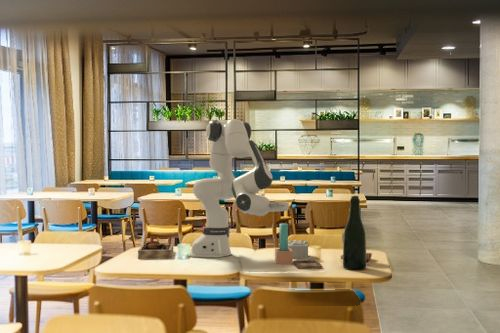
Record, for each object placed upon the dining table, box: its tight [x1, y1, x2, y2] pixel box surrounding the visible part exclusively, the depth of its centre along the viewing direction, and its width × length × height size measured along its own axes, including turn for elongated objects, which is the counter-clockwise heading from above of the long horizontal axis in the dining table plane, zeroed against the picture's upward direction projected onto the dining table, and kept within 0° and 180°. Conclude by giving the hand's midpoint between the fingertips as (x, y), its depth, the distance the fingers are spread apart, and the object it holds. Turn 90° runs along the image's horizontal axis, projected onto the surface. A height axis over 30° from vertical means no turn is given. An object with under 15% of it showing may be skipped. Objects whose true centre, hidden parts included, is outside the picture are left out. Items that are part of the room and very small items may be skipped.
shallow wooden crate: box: [137, 243, 174, 260], centre depth 314 cm, size 16×18×4 cm
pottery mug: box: [144, 240, 166, 250], centre depth 314 cm, size 12×10×8 cm
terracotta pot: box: [274, 248, 294, 265], centre depth 292 cm, size 8×8×6 cm
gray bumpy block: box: [288, 239, 309, 260], centre depth 307 cm, size 10×13×9 cm
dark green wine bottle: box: [342, 195, 367, 271], centre depth 281 cm, size 10×10×33 cm
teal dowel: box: [278, 223, 289, 251], centre depth 291 cm, size 4×4×18 cm
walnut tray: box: [293, 259, 323, 270], centre depth 283 cm, size 11×14×2 cm
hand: (273, 208), depth 286 cm, fingers open, 8 cm apart
